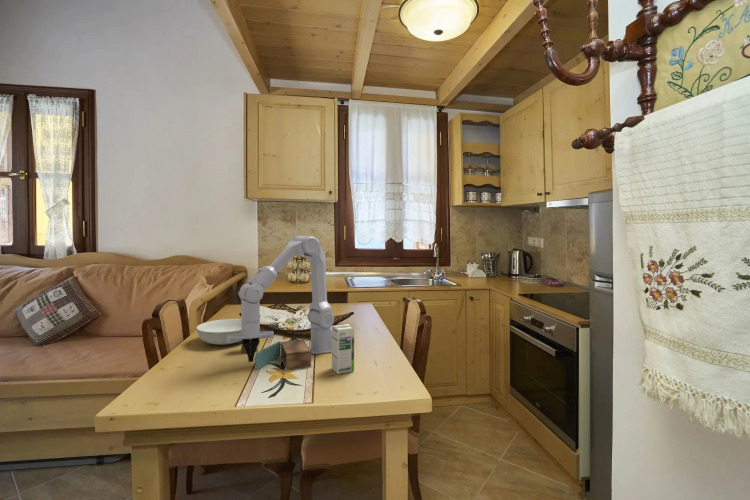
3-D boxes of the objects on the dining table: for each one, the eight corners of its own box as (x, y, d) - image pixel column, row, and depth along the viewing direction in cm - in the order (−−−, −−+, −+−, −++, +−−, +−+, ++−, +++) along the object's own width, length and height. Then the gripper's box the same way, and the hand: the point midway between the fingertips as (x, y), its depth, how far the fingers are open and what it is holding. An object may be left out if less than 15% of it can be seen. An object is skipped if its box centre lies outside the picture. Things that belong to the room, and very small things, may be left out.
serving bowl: (259, 344, 142) (259, 327, 141) (201, 354, 130) (201, 335, 130) (245, 331, 159) (245, 316, 158) (193, 339, 147) (192, 322, 147)
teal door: (280, 355, 128) (280, 341, 128) (258, 369, 116) (258, 353, 115) (275, 355, 129) (275, 340, 129) (252, 368, 116) (252, 352, 116)
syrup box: (337, 374, 114) (338, 329, 113) (331, 368, 119) (331, 324, 118) (354, 371, 116) (354, 327, 115) (347, 365, 121) (347, 323, 121)
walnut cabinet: (303, 354, 131) (303, 339, 131) (311, 366, 120) (311, 350, 119) (280, 356, 128) (280, 341, 128) (286, 369, 117) (286, 353, 116)
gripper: (271, 315, 124) (271, 354, 125) (226, 319, 119) (226, 359, 120) (274, 320, 118) (274, 361, 119) (226, 324, 112) (227, 367, 113)
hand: (250, 361), depth 119 cm, fingers closed
